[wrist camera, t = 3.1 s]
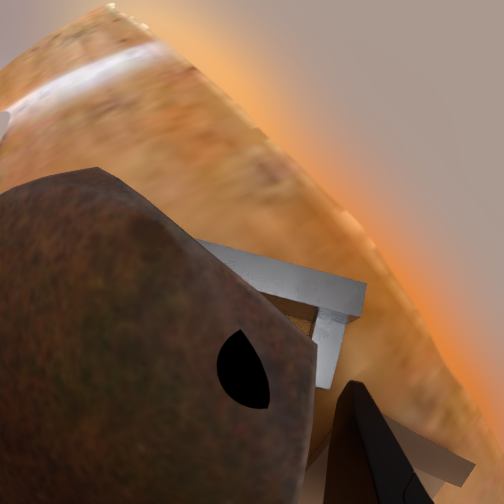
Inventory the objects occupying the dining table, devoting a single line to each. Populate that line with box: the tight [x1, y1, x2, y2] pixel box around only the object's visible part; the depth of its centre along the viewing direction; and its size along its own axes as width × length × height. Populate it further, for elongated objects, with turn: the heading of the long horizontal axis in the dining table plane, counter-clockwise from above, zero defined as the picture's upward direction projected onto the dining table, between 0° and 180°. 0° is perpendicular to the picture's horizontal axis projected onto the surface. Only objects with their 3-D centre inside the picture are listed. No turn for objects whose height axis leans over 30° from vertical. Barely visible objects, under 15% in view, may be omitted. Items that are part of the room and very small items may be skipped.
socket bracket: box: [194, 238, 367, 389], centre depth 15 cm, size 5×11×4 cm, turn 74°
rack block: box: [298, 414, 476, 504], centre depth 11 cm, size 9×9×3 cm
